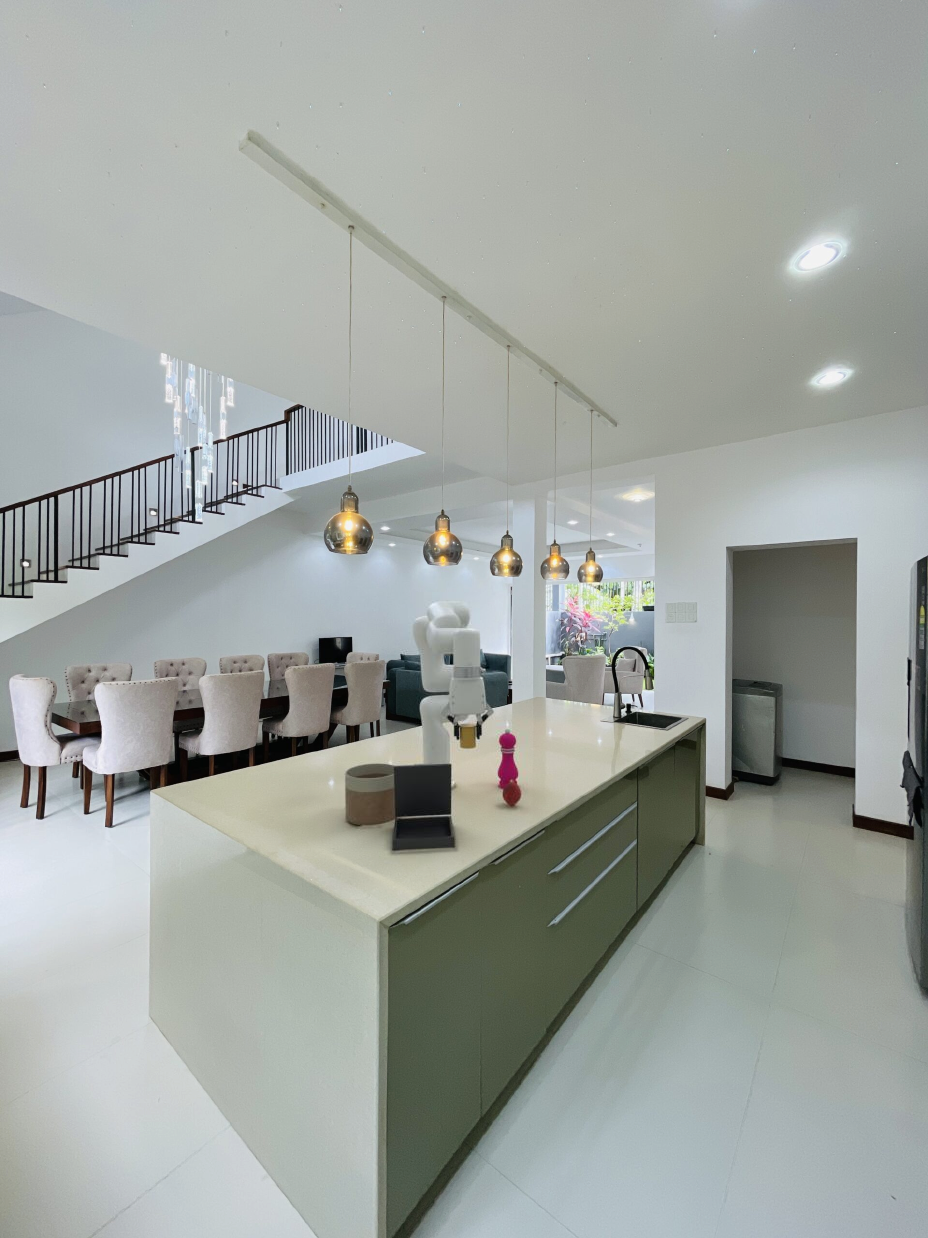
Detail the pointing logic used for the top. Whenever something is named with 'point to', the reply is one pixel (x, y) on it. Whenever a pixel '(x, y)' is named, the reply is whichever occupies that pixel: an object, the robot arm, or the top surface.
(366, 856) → the top surface
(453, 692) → the robot arm
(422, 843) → the dark grey lidded tray
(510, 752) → the pepper mill
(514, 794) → the onion
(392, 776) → the planter
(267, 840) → the top surface
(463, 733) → the coffee pod
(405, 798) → the lid
